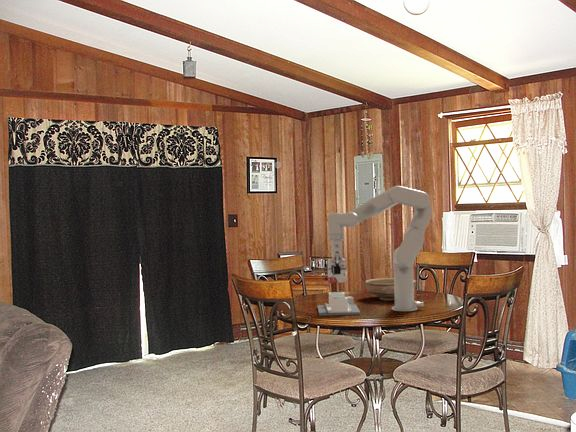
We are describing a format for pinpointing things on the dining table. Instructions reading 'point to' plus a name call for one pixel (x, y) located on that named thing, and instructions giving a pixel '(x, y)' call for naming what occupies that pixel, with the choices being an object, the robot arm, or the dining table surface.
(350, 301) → the block
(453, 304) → the dining table surface
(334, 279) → the ink box
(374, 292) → the ceramic bowl
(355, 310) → the rail panel
